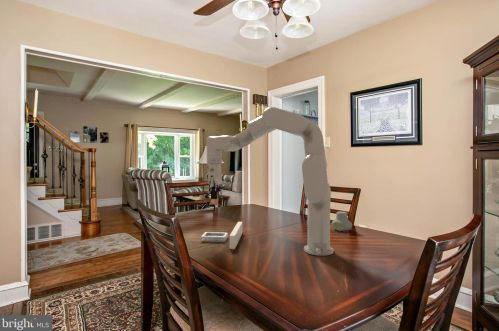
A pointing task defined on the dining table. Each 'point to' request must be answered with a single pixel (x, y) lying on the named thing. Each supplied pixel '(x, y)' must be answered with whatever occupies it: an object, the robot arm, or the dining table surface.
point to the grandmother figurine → (215, 201)
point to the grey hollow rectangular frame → (214, 237)
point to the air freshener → (341, 222)
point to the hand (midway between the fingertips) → (214, 198)
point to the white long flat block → (235, 235)
